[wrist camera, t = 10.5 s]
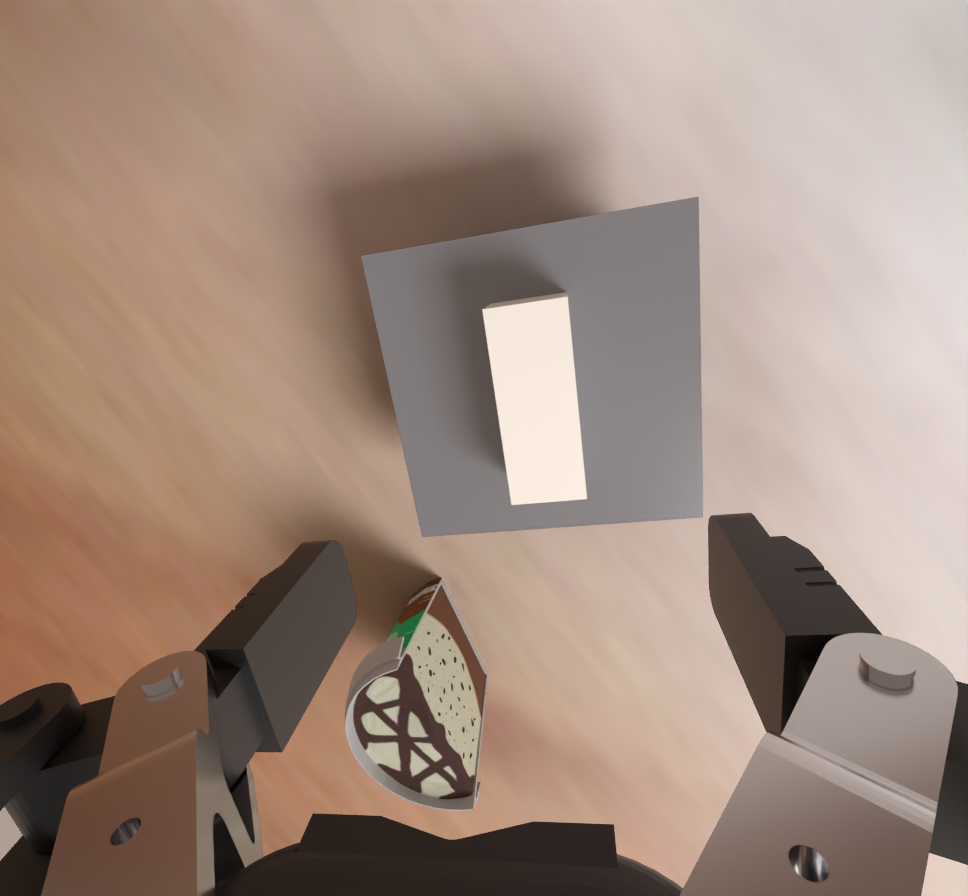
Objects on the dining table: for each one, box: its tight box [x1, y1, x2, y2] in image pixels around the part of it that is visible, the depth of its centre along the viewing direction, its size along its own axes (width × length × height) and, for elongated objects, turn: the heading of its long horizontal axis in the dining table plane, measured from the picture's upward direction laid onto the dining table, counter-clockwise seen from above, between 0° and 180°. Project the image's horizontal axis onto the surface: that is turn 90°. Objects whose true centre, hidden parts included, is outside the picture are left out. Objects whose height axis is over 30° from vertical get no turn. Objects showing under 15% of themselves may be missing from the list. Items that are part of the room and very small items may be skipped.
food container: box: [345, 578, 488, 811], centre depth 35 cm, size 12×6×10 cm, turn 22°
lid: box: [361, 197, 703, 537], centre depth 24 cm, size 15×15×4 cm
